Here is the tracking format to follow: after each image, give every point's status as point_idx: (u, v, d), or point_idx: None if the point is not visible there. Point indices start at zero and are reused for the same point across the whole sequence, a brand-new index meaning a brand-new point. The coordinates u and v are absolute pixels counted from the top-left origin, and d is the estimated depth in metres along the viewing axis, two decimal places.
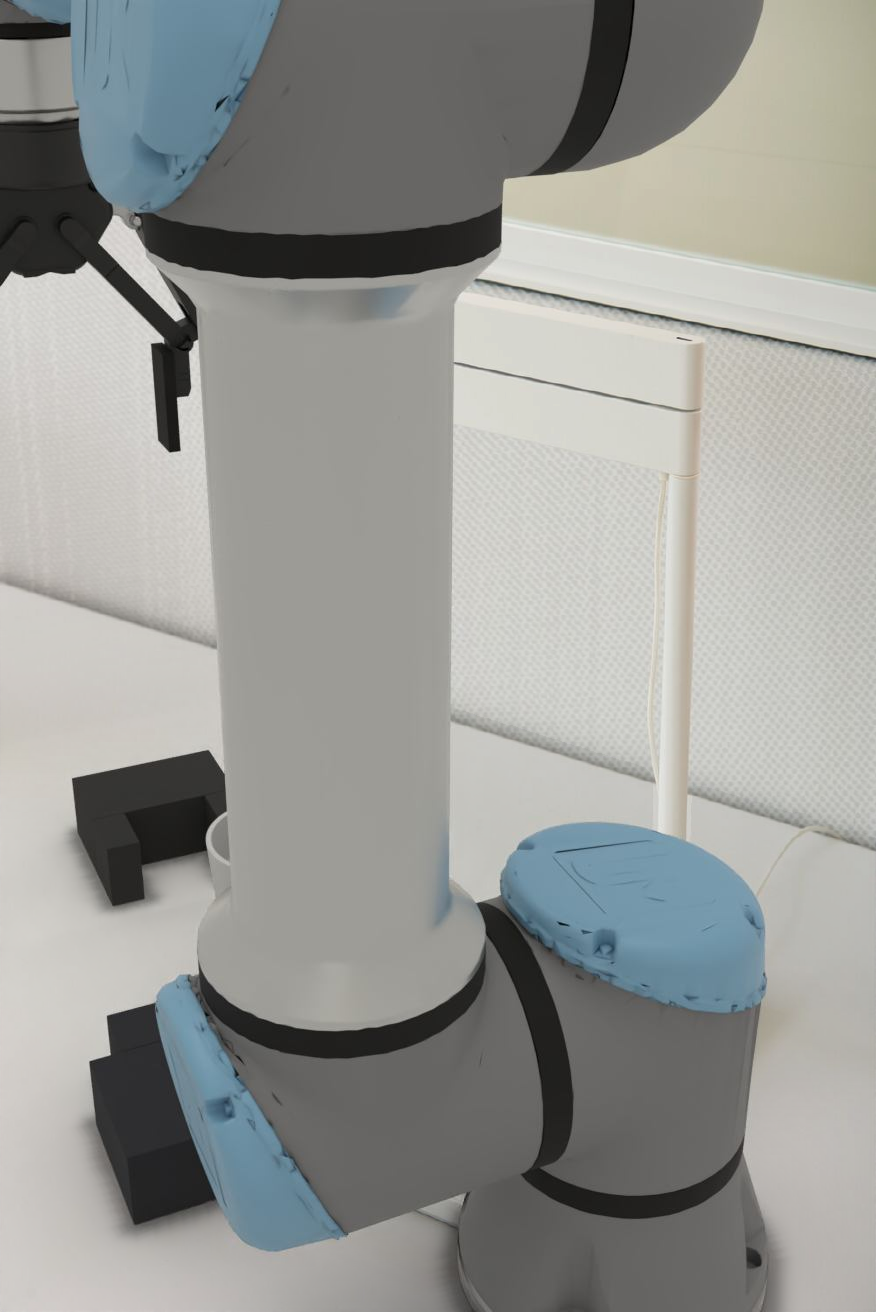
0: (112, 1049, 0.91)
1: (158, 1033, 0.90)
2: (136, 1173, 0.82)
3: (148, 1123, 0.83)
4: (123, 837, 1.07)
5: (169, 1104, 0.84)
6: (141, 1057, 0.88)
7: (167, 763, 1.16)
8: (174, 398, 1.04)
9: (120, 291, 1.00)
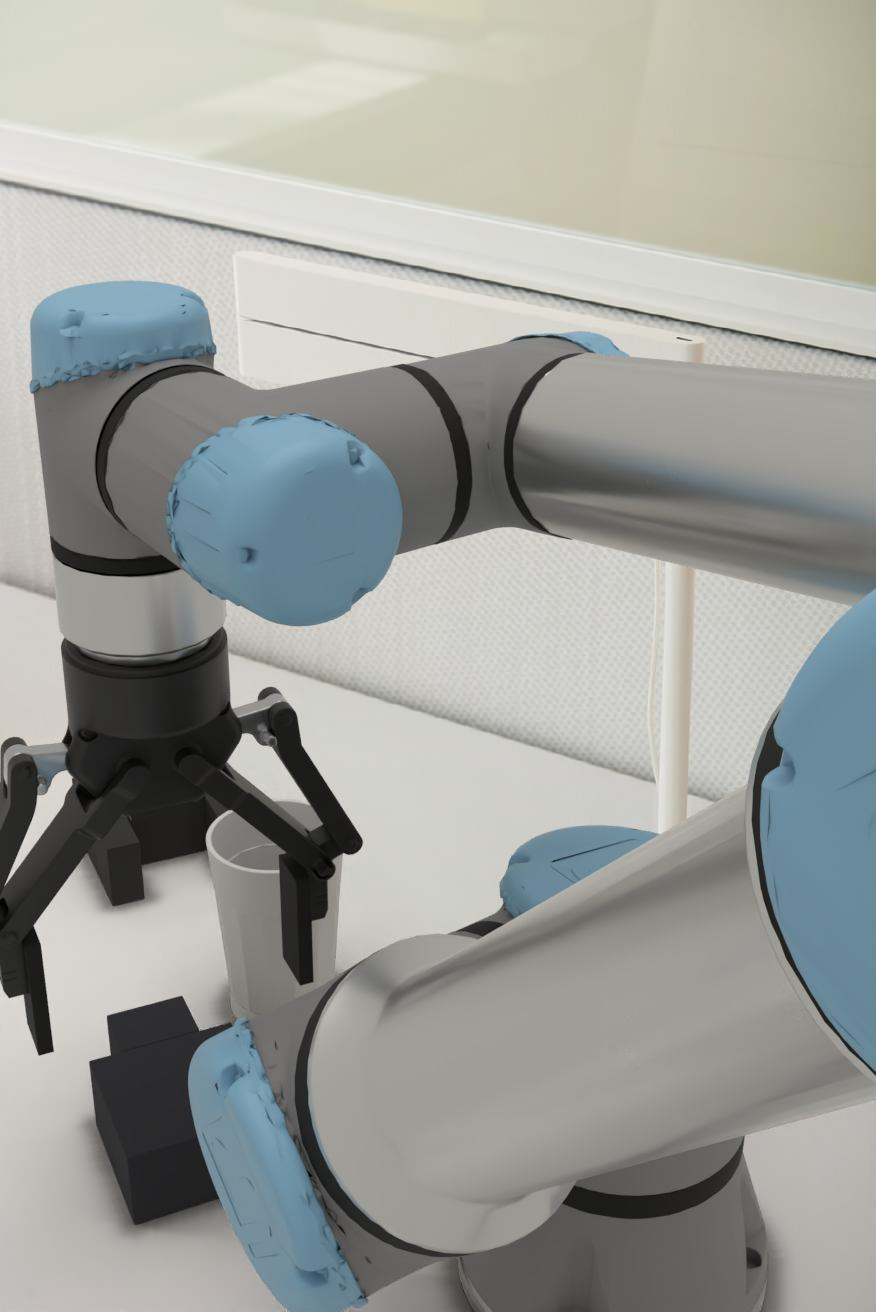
0: (112, 1049, 0.91)
1: (158, 1033, 0.90)
2: (136, 1173, 0.82)
3: (148, 1123, 0.83)
4: (123, 837, 1.07)
5: (169, 1104, 0.84)
6: (141, 1057, 0.88)
7: None
8: (308, 927, 0.83)
9: (248, 820, 0.79)
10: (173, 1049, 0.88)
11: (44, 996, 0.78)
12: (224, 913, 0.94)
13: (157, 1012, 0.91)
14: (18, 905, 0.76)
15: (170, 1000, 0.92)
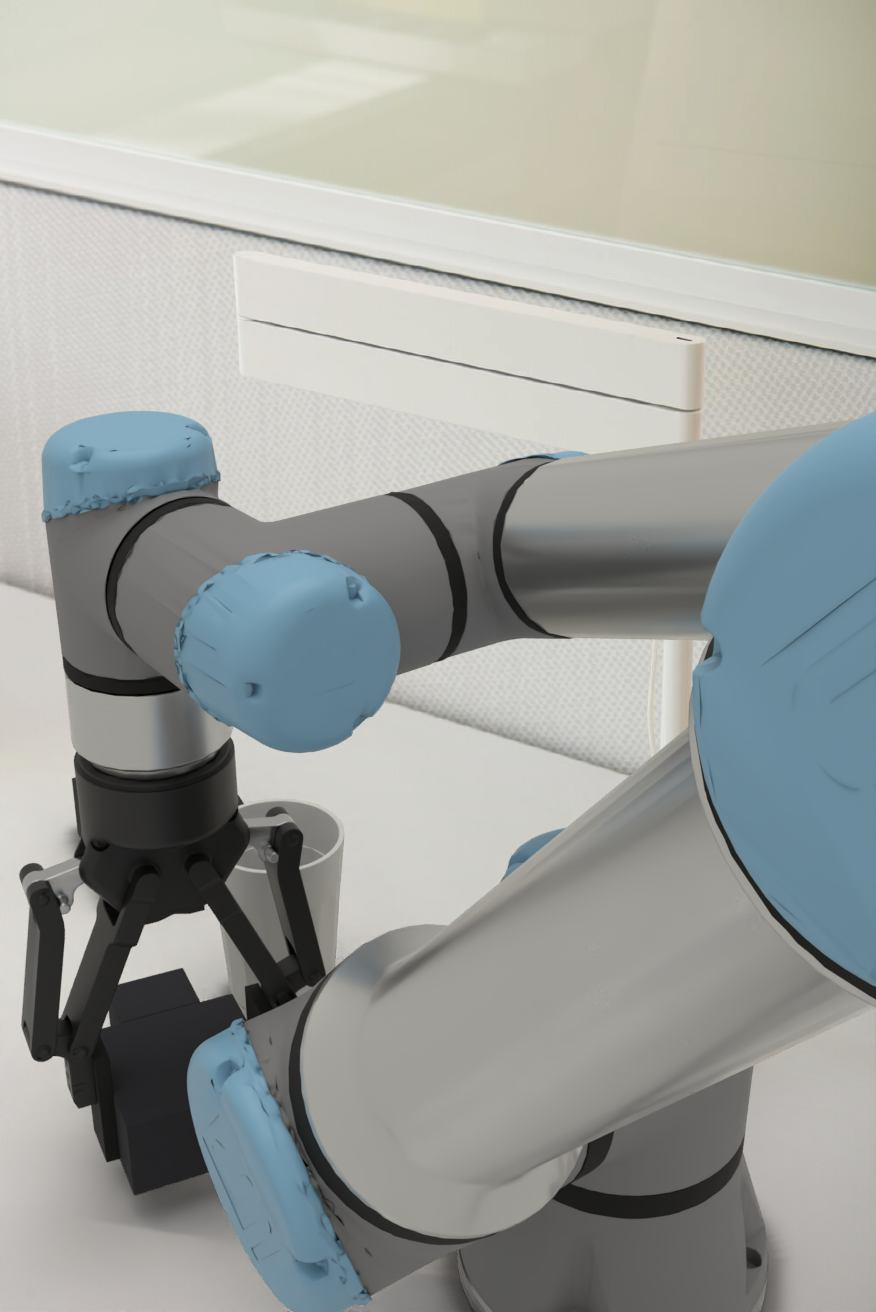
0: (112, 1022, 0.90)
1: (158, 1004, 0.88)
2: (136, 1142, 0.80)
3: (147, 1093, 0.82)
4: None
5: (169, 1074, 0.83)
6: (141, 1028, 0.87)
7: None
8: None
9: (233, 938, 0.81)
10: (173, 1020, 0.87)
11: (112, 1106, 0.82)
12: None
13: (157, 984, 0.90)
14: (78, 1022, 0.80)
15: (170, 972, 0.91)
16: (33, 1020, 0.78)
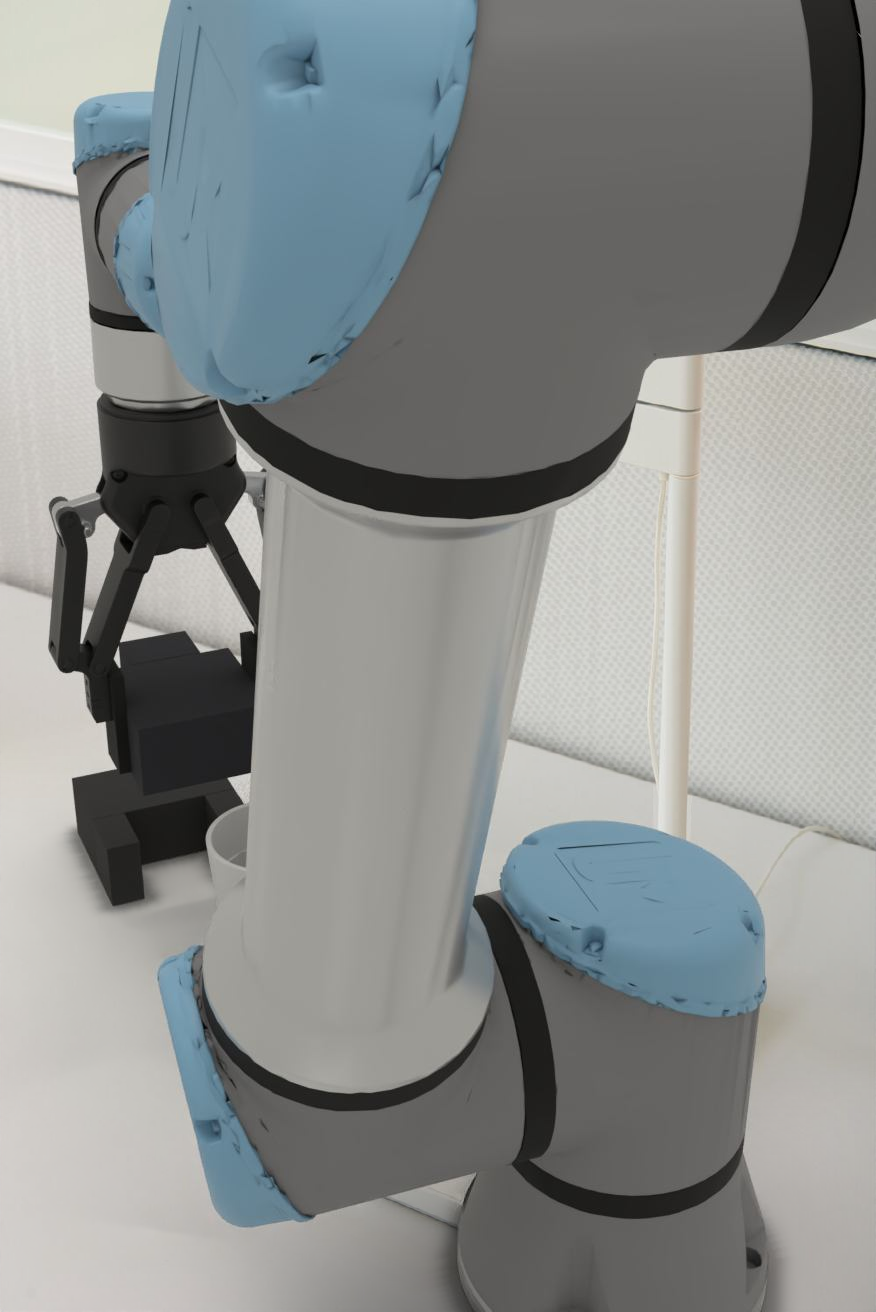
0: None
1: (164, 654, 1.02)
2: (146, 746, 0.94)
3: (156, 709, 0.95)
4: (123, 837, 1.07)
5: (174, 697, 0.97)
6: (150, 668, 1.00)
7: None
8: None
9: (230, 576, 0.95)
10: (177, 664, 1.01)
11: (125, 722, 0.96)
12: None
13: (163, 641, 1.03)
14: (98, 641, 0.93)
15: (174, 633, 1.04)
16: (59, 634, 0.92)
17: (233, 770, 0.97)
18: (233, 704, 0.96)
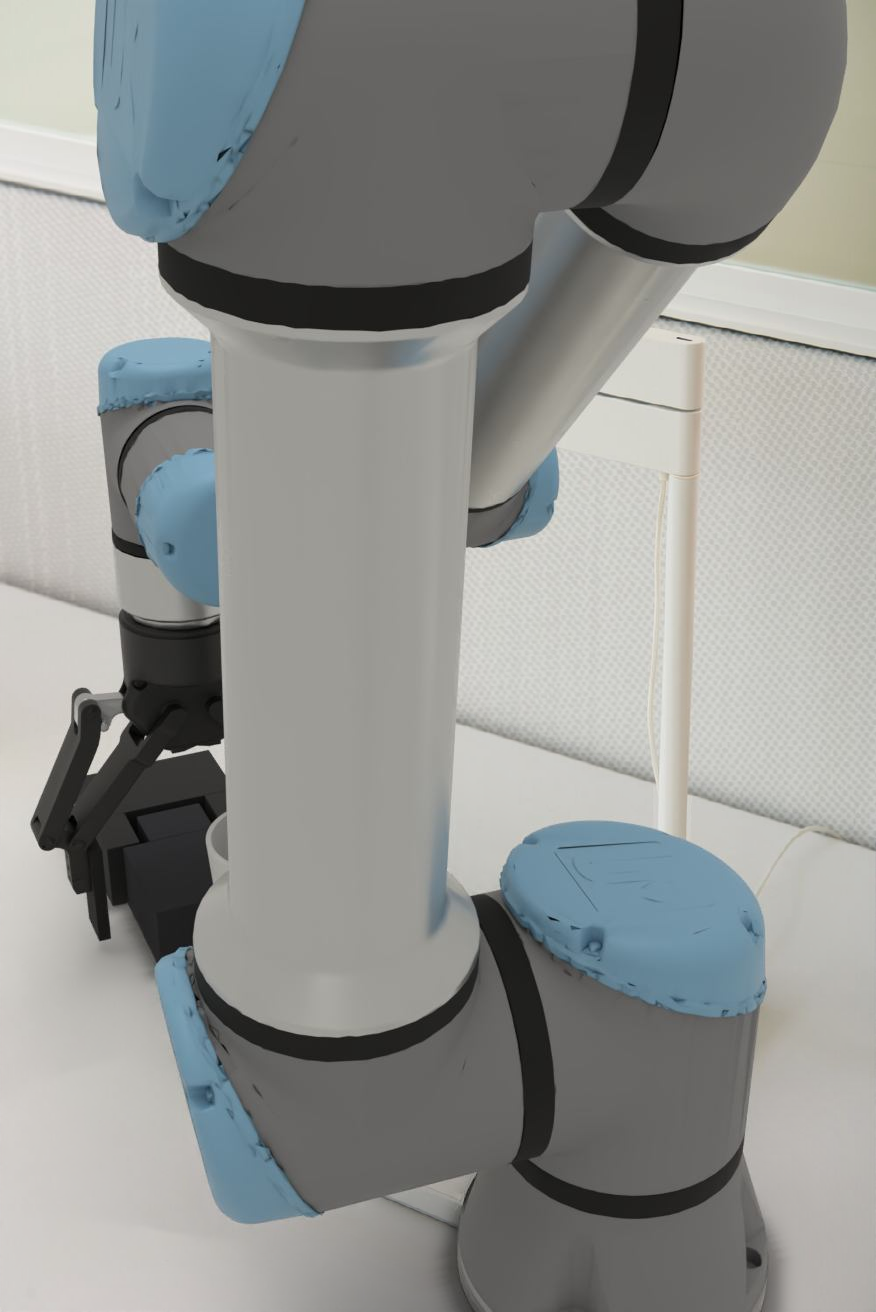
0: None
1: (179, 829, 1.08)
2: (163, 926, 1.00)
3: (172, 890, 1.02)
4: (123, 837, 1.07)
5: (189, 877, 1.03)
6: (166, 845, 1.07)
7: (167, 763, 1.16)
8: None
9: None
10: (192, 840, 1.07)
11: (104, 893, 1.00)
12: None
13: (178, 814, 1.10)
14: (85, 819, 0.98)
15: (189, 806, 1.11)
16: (49, 813, 0.97)
17: None
18: None
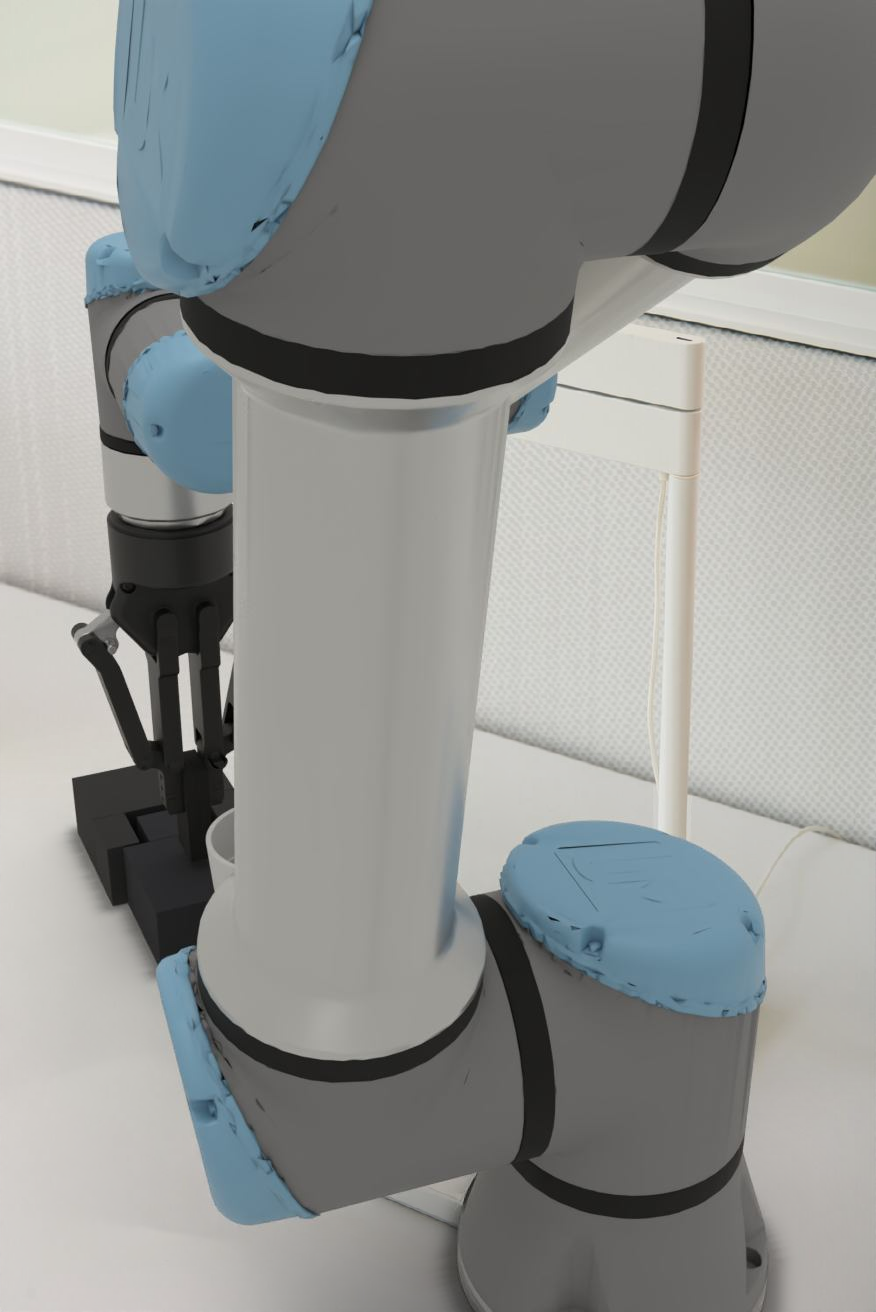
0: None
1: None
2: (163, 926, 1.00)
3: (172, 890, 1.02)
4: (123, 837, 1.07)
5: (189, 877, 1.03)
6: (166, 845, 1.07)
7: None
8: (207, 809, 1.02)
9: (202, 686, 0.99)
10: None
11: (197, 813, 1.02)
12: None
13: None
14: (162, 743, 0.99)
15: None
16: (126, 741, 0.98)
17: None
18: None
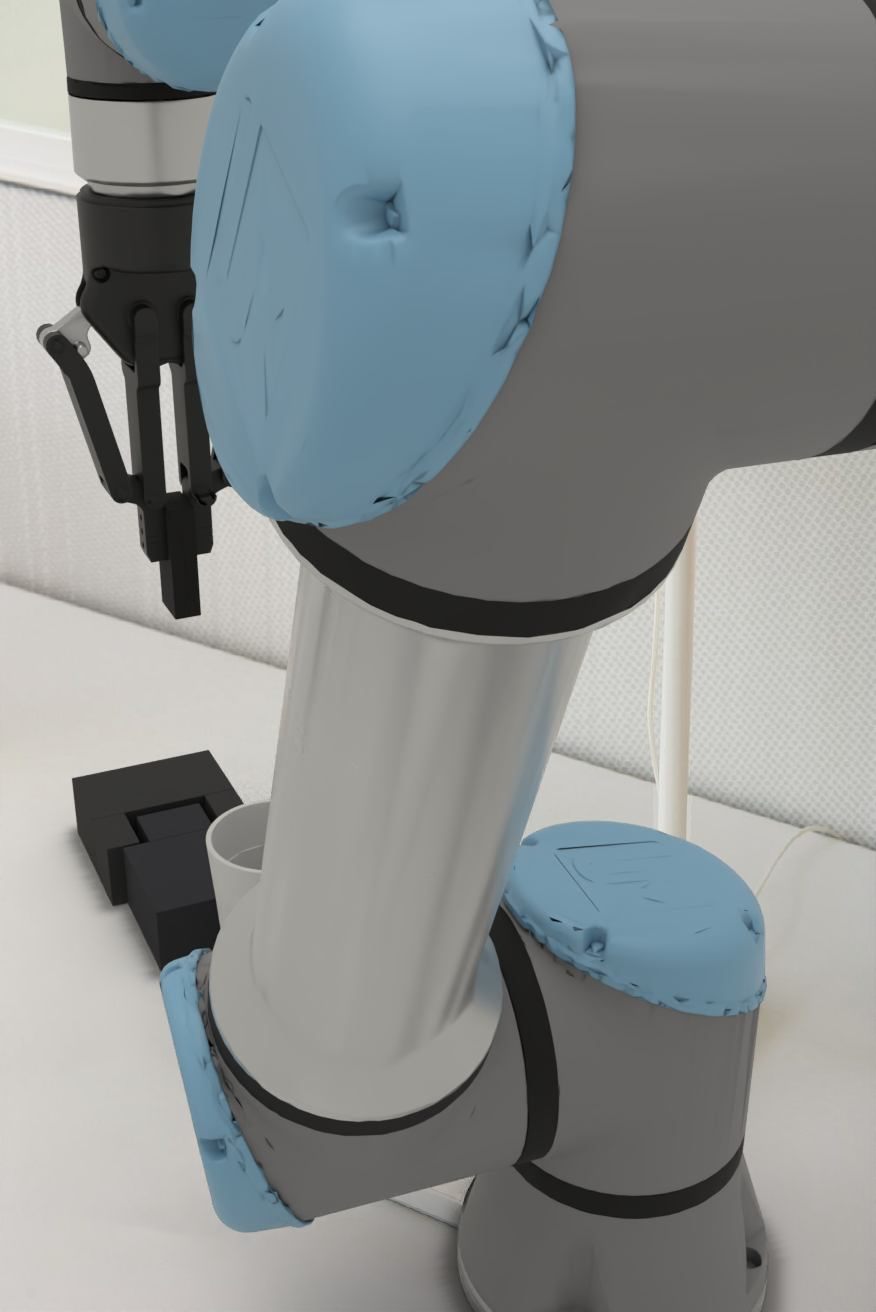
0: None
1: (179, 829, 1.08)
2: (163, 926, 1.00)
3: (172, 890, 1.02)
4: (123, 837, 1.07)
5: (189, 877, 1.03)
6: (166, 845, 1.07)
7: (167, 763, 1.16)
8: (194, 557, 0.90)
9: (187, 405, 0.86)
10: (192, 840, 1.07)
11: (182, 561, 0.90)
12: (224, 913, 0.94)
13: (178, 814, 1.10)
14: (141, 473, 0.87)
15: (189, 806, 1.11)
16: (100, 465, 0.86)
17: None
18: None
